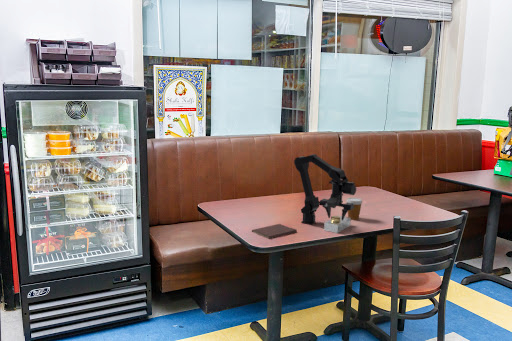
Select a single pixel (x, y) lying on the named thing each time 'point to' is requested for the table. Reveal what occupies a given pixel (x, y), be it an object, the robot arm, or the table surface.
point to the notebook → (274, 231)
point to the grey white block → (337, 225)
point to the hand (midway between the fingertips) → (335, 219)
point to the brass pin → (335, 219)
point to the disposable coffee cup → (357, 206)
